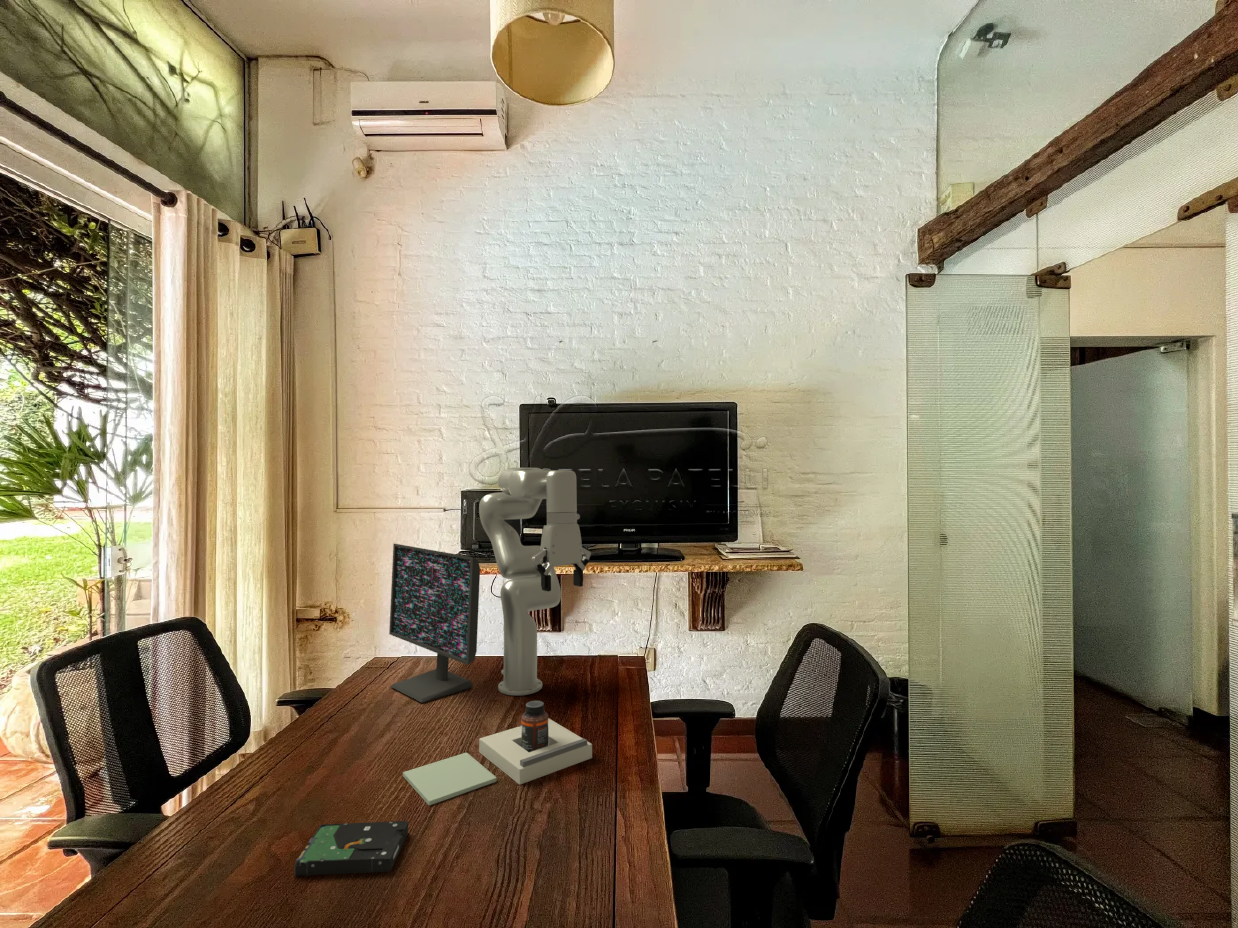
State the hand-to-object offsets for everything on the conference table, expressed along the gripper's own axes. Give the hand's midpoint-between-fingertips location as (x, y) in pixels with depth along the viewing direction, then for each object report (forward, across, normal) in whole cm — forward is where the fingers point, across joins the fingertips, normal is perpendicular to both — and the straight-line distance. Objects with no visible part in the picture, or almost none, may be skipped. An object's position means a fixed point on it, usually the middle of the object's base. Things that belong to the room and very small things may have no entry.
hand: (562, 588), depth 151 cm
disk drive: (+35, +55, +19) cm, 68 cm away
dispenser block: (+34, +14, +9) cm, 38 cm away
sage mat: (+34, +33, +6) cm, 48 cm away
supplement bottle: (+34, +14, +9) cm, 38 cm away
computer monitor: (+32, +15, -45) cm, 57 cm away
